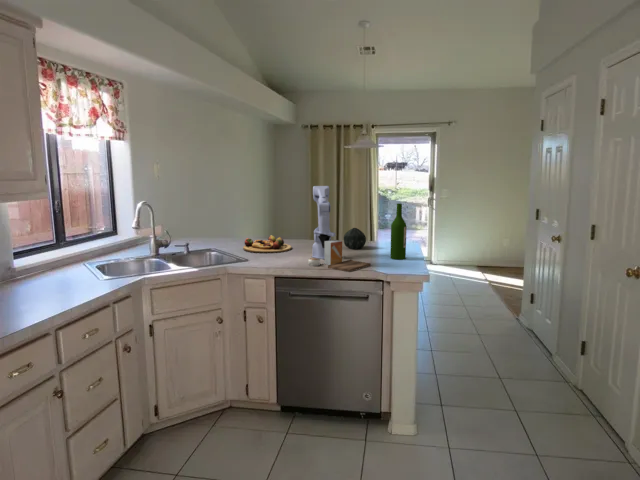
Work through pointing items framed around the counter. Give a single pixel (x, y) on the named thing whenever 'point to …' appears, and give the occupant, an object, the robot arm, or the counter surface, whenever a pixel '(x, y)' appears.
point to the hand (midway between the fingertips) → (324, 247)
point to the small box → (333, 252)
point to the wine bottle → (398, 236)
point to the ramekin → (313, 261)
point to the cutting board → (348, 265)
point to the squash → (354, 239)
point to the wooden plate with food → (266, 245)
